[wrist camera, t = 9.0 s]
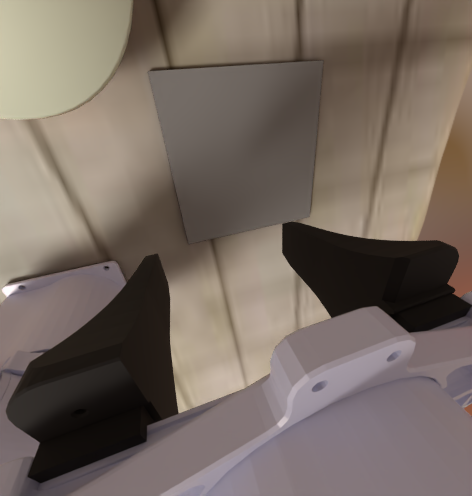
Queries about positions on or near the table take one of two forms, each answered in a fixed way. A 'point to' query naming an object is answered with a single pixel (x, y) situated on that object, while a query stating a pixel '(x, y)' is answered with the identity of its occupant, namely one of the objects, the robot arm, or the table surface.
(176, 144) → the mat
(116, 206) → the table surface
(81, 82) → the lid
